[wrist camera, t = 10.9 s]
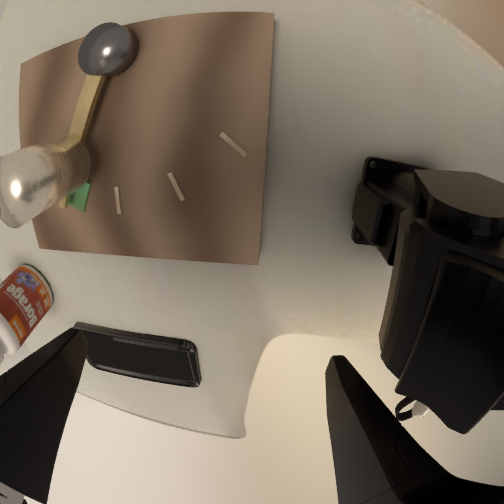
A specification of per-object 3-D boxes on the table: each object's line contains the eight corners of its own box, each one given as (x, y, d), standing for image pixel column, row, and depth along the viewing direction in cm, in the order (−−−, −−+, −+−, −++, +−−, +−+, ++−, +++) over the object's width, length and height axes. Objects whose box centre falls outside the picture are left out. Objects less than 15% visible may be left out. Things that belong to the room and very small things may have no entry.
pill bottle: (63, 301, 25) (11, 374, 15) (39, 311, 26) (-5, 374, 16) (31, 255, 22) (-33, 320, 12) (11, 271, 23) (-42, 329, 14)
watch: (401, 411, 34) (406, 428, 31) (386, 407, 33) (392, 426, 30) (439, 384, 31) (446, 402, 28) (427, 378, 30) (435, 398, 27)
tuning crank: (102, 24, 11) (34, 3, 5) (149, 32, 12) (87, 1, 6) (51, 194, 17) (-10, 233, 11) (88, 212, 18) (29, 261, 12)
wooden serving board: (273, 20, 13) (274, 12, 11) (258, 254, 21) (258, 266, 20) (32, 63, 13) (19, 63, 11) (48, 241, 21) (38, 249, 20)
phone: (201, 388, 29) (91, 367, 29) (202, 381, 30) (94, 361, 30) (193, 345, 25) (69, 324, 25) (195, 337, 26) (73, 318, 26)
